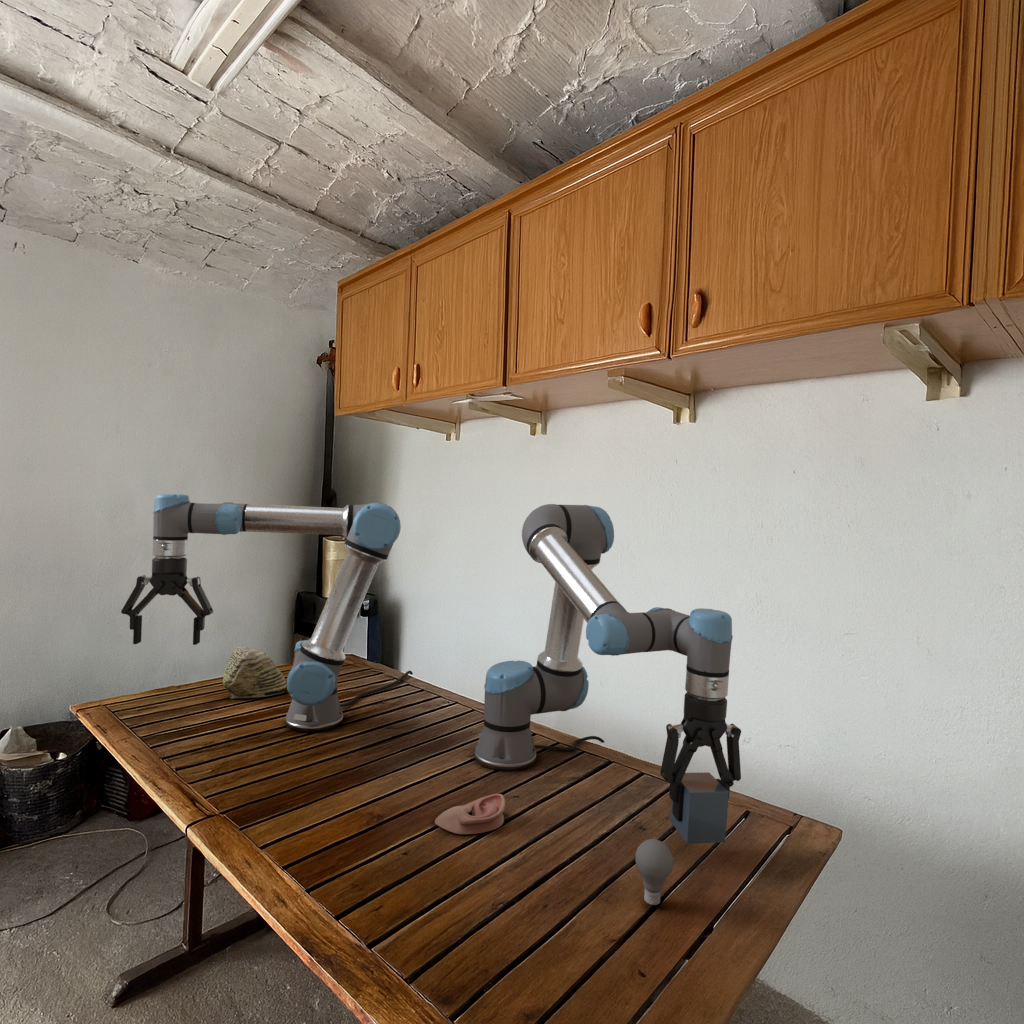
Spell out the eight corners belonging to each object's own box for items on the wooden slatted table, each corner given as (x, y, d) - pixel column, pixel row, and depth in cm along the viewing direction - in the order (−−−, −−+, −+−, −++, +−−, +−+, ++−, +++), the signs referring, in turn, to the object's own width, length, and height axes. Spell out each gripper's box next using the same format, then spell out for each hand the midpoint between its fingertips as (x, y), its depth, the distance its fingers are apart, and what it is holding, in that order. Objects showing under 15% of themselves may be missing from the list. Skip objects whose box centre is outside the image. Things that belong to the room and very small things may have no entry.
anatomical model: (430, 809, 122) (447, 784, 133) (429, 830, 122) (447, 802, 133) (497, 819, 119) (509, 792, 130) (496, 840, 119) (508, 811, 131)
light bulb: (629, 891, 105) (631, 831, 105) (664, 890, 106) (667, 831, 106) (639, 914, 99) (642, 851, 99) (676, 914, 100) (679, 851, 100)
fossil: (218, 695, 195) (220, 647, 195) (278, 685, 208) (279, 640, 207) (228, 703, 189) (230, 653, 188) (289, 692, 201) (290, 645, 201)
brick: (686, 843, 113) (690, 792, 112) (669, 820, 120) (672, 772, 120) (725, 842, 114) (728, 791, 113) (706, 819, 121) (709, 772, 121)
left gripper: (107, 556, 149) (104, 646, 150) (218, 559, 153) (215, 647, 153) (122, 553, 157) (119, 639, 157) (228, 557, 160) (225, 640, 161)
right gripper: (661, 701, 111) (652, 829, 112) (768, 702, 114) (759, 826, 115) (645, 687, 118) (638, 807, 119) (747, 688, 121) (738, 805, 122)
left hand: (166, 643), depth 155 cm, fingers open, 13 cm apart
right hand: (697, 816), depth 117 cm, fingers closed on brick, 7 cm apart
